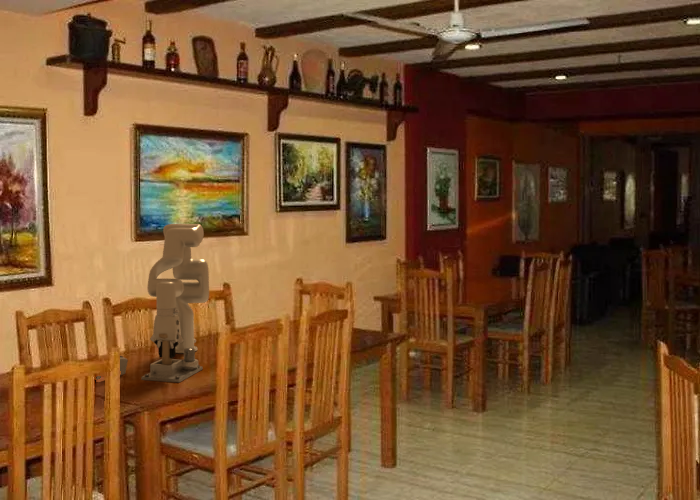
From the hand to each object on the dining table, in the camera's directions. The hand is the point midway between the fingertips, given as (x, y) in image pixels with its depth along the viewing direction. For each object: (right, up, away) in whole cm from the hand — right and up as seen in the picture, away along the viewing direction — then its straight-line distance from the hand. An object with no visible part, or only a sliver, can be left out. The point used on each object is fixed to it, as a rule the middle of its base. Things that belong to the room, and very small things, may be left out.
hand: (167, 356), depth 317 cm
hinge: (-22, -8, -5) cm, 24 cm away
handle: (0, -5, 0) cm, 5 cm away
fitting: (+2, -7, +1) cm, 8 cm away
